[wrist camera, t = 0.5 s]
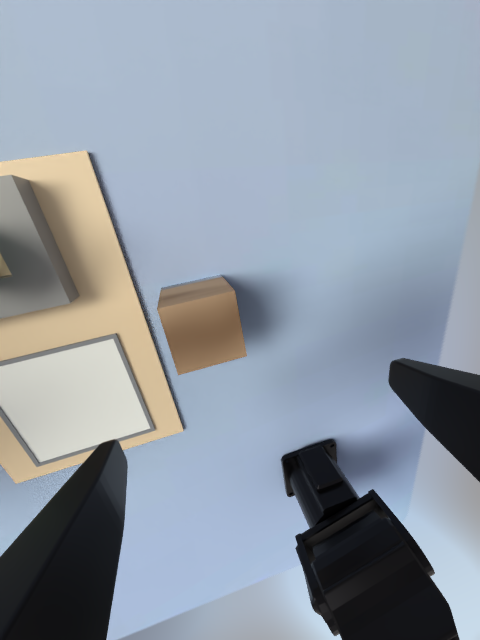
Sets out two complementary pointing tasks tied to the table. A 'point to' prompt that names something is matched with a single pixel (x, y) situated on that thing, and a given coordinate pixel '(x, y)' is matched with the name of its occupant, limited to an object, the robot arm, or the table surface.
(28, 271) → the button housing
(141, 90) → the table surface
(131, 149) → the table surface
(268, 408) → the table surface
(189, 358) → the block
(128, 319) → the tan rectangular board
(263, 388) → the table surface
